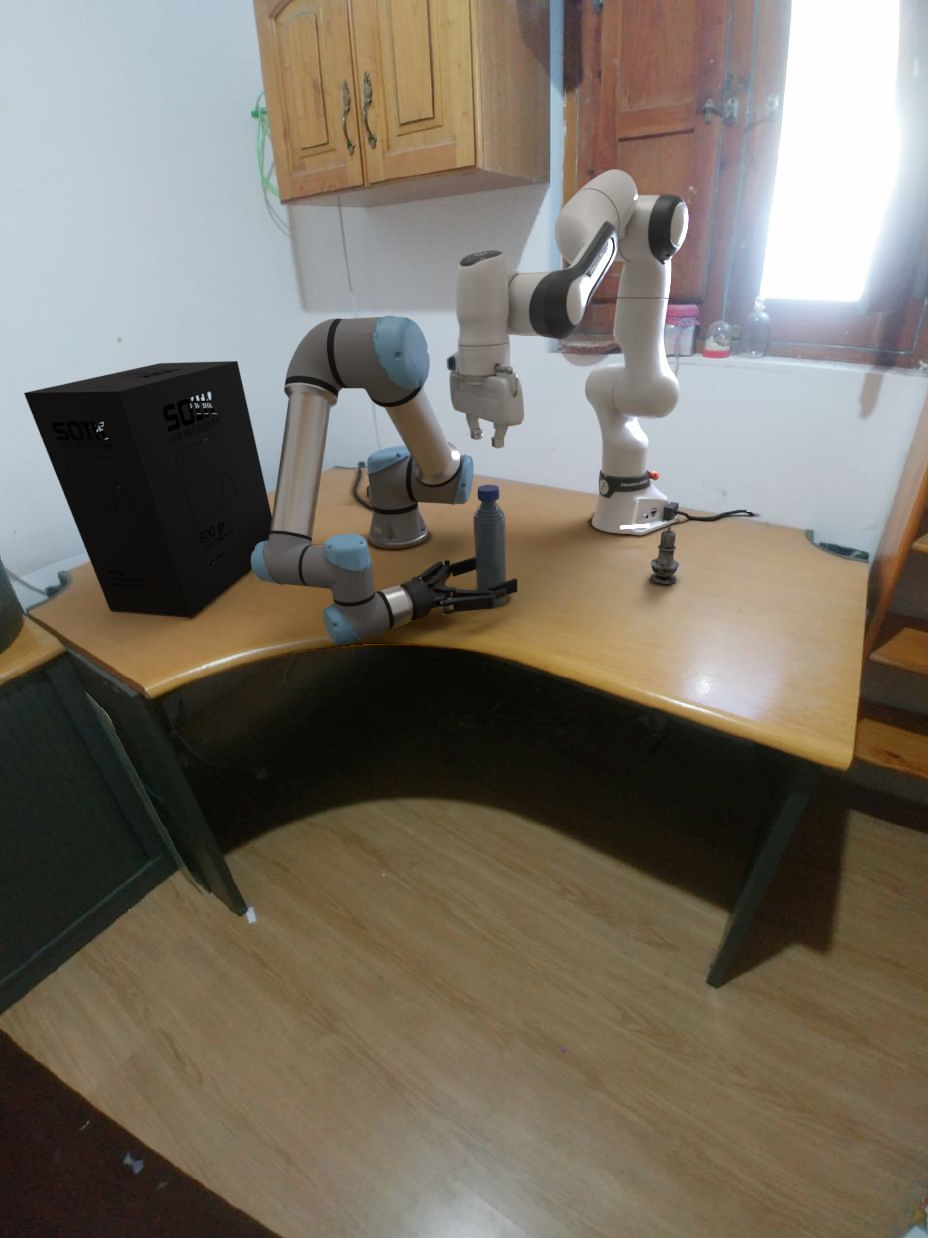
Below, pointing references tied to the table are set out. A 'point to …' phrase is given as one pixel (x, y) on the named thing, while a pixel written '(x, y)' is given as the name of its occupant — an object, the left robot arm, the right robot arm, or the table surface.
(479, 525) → the bottle
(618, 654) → the table surface
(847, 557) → the table surface
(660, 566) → the grey tapered ringed piece
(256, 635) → the table surface
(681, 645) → the table surface
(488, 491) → the cap
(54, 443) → the cardboard box
